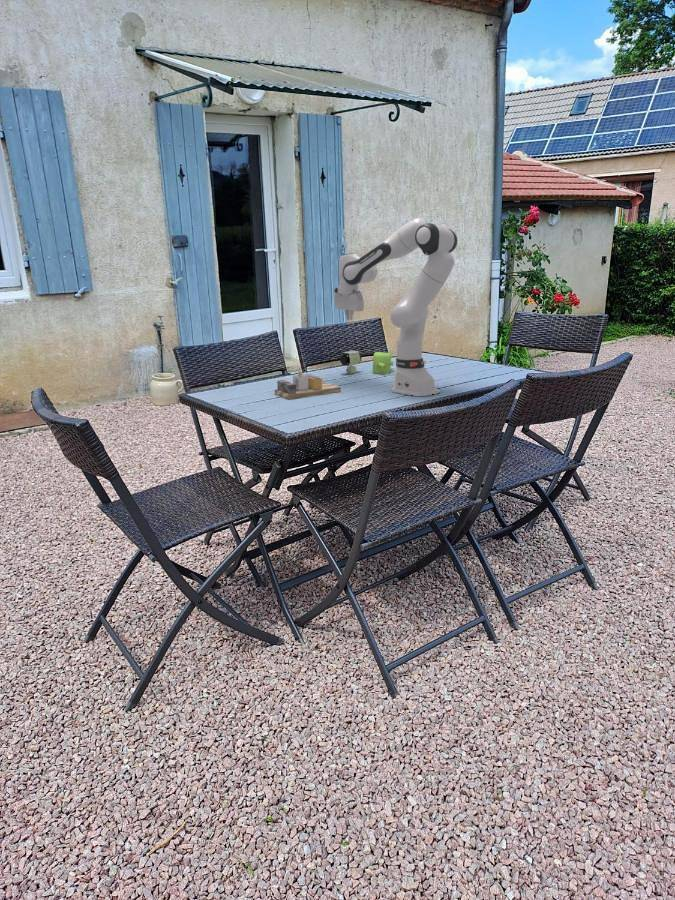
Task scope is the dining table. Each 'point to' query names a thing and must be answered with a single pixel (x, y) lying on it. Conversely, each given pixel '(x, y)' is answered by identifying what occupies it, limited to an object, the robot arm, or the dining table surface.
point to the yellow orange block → (314, 382)
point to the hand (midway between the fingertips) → (349, 319)
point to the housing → (301, 381)
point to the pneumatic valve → (350, 360)
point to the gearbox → (382, 363)
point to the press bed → (290, 390)
